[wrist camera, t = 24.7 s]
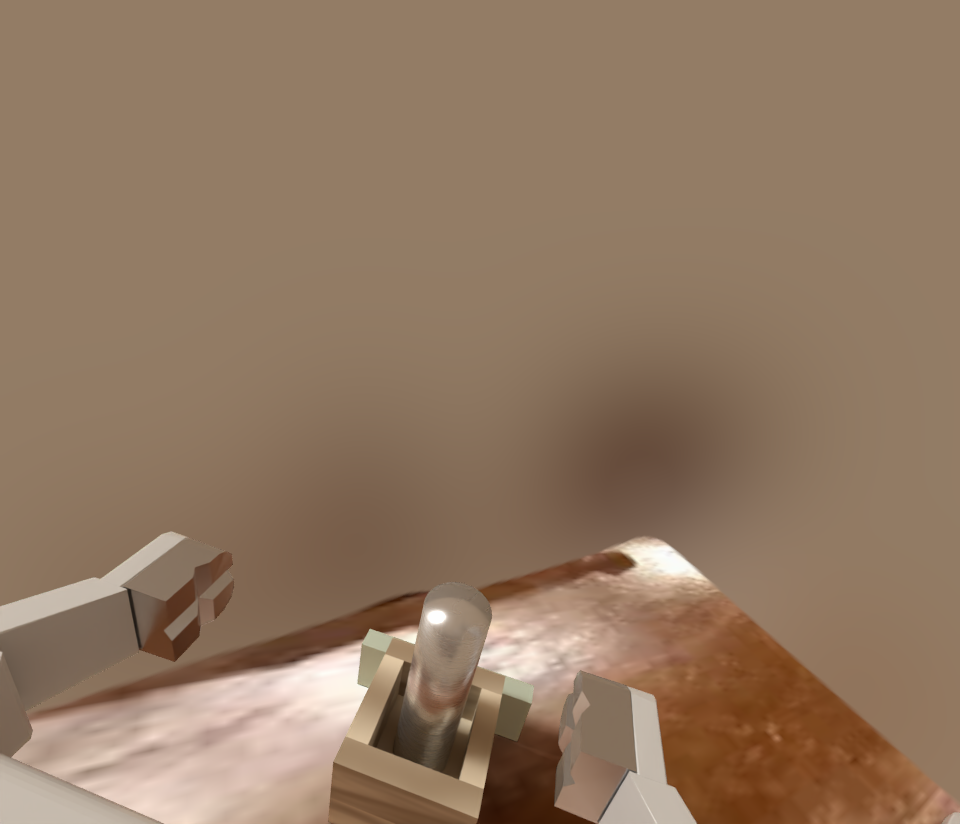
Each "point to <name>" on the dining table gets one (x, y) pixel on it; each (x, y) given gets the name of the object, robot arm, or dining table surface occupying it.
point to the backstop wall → (514, 691)
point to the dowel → (441, 673)
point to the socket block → (399, 782)
